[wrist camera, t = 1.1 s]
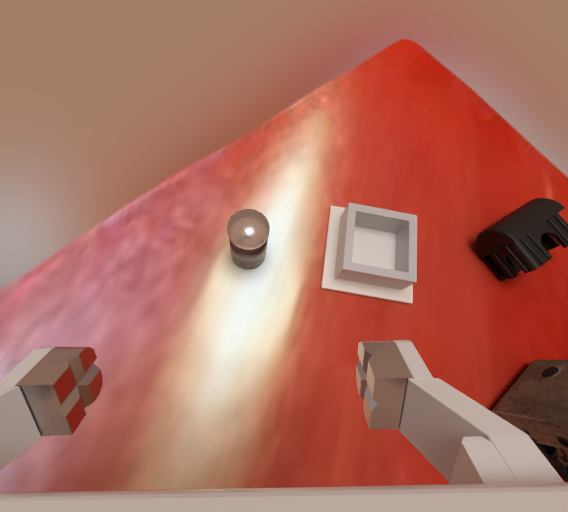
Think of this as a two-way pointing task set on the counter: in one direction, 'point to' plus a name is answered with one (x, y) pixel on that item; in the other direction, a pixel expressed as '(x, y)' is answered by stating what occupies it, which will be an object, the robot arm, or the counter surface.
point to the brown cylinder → (248, 238)
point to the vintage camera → (541, 408)
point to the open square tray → (371, 253)
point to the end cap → (523, 238)
